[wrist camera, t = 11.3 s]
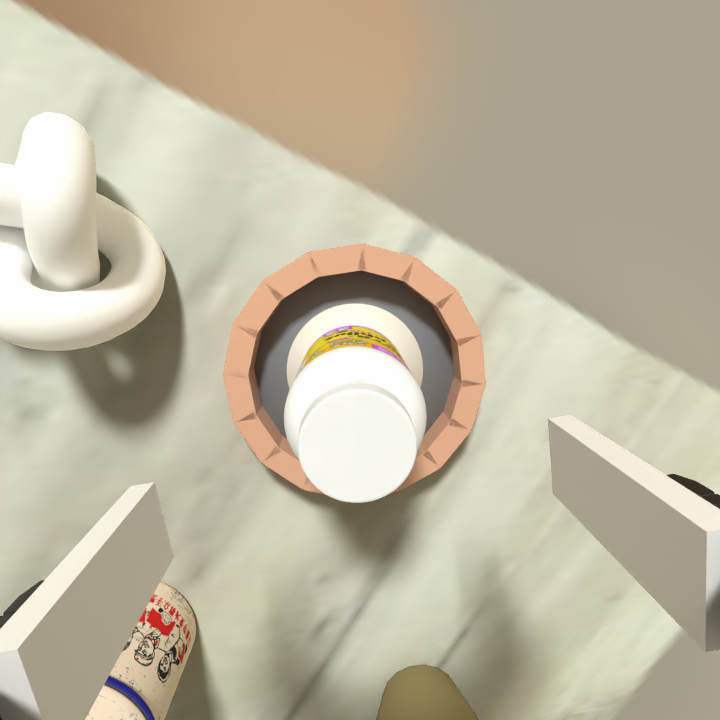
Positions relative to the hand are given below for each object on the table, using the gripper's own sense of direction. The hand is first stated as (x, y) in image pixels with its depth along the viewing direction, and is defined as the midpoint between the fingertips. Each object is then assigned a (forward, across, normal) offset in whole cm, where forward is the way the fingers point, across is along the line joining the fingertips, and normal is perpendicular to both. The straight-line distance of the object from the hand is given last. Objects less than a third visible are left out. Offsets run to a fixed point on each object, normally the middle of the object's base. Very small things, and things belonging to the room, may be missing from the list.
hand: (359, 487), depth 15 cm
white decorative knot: (+17, +14, -10) cm, 24 cm away
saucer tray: (+16, -1, 0) cm, 16 cm away
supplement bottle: (+16, 0, 0) cm, 16 cm away
